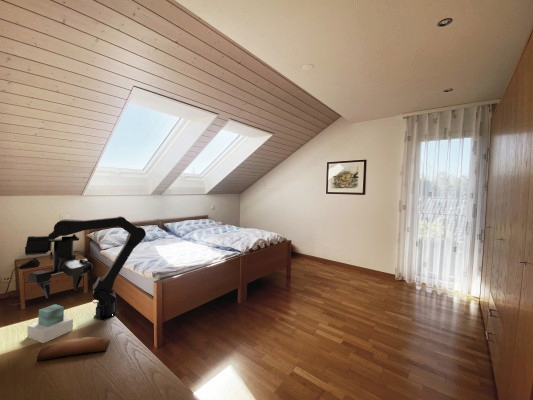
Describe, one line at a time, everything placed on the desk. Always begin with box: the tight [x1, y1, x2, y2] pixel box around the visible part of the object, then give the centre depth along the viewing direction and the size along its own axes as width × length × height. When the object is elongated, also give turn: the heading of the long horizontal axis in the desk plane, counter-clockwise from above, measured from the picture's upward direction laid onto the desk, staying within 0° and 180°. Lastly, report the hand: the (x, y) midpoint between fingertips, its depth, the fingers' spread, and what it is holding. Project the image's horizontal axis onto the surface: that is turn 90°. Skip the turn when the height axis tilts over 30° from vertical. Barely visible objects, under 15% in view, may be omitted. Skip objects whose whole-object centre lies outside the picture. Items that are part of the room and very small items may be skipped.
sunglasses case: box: [36, 336, 112, 362], centre depth 78 cm, size 18×7×7 cm, turn 109°
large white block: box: [27, 316, 74, 344], centre depth 87 cm, size 9×9×4 cm
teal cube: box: [37, 303, 65, 327], centre depth 87 cm, size 5×5×5 cm
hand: (62, 293), depth 93 cm, fingers open, 9 cm apart
